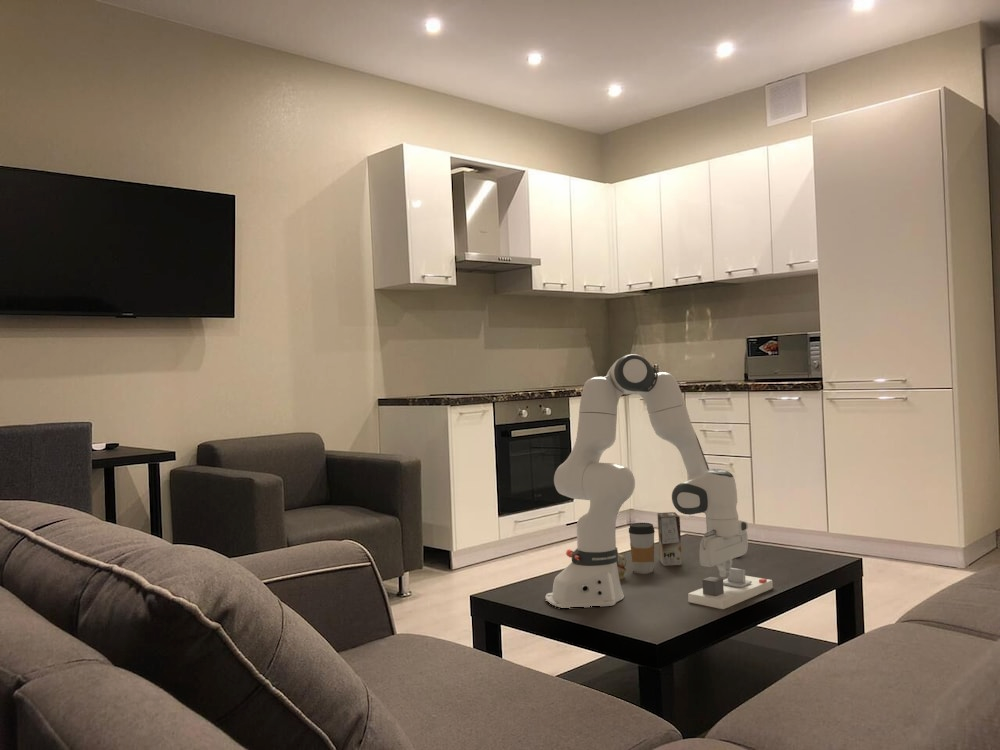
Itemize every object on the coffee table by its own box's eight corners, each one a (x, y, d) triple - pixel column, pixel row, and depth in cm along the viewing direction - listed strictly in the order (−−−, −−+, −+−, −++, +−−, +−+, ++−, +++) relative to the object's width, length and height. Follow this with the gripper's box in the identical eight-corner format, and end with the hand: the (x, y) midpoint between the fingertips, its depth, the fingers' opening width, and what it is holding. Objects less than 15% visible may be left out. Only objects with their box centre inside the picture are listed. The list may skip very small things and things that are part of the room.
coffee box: (682, 565, 266) (680, 516, 266) (663, 566, 266) (660, 517, 266) (677, 558, 275) (675, 511, 275) (658, 559, 275) (656, 512, 275)
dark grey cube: (715, 596, 221) (715, 581, 221) (703, 593, 223) (702, 579, 223) (723, 593, 223) (723, 578, 223) (711, 590, 226) (710, 576, 226)
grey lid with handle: (740, 587, 227) (739, 572, 227) (721, 584, 232) (721, 569, 232) (751, 583, 231) (751, 568, 231) (733, 579, 236) (732, 565, 236)
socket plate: (723, 609, 217) (722, 597, 217) (688, 602, 225) (688, 590, 225) (772, 588, 234) (772, 577, 234) (738, 582, 242) (738, 571, 242)
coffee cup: (656, 574, 256) (654, 527, 256) (629, 574, 257) (627, 527, 257) (656, 568, 264) (654, 522, 264) (630, 568, 266) (628, 522, 265)
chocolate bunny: (623, 581, 250) (622, 549, 250) (599, 580, 253) (597, 548, 253) (628, 577, 255) (626, 545, 255) (603, 575, 258) (602, 544, 258)
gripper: (712, 535, 219) (715, 586, 219) (750, 522, 233) (753, 569, 233) (692, 532, 223) (695, 582, 223) (731, 519, 237) (733, 566, 238)
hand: (725, 575), depth 228 cm, fingers closed
